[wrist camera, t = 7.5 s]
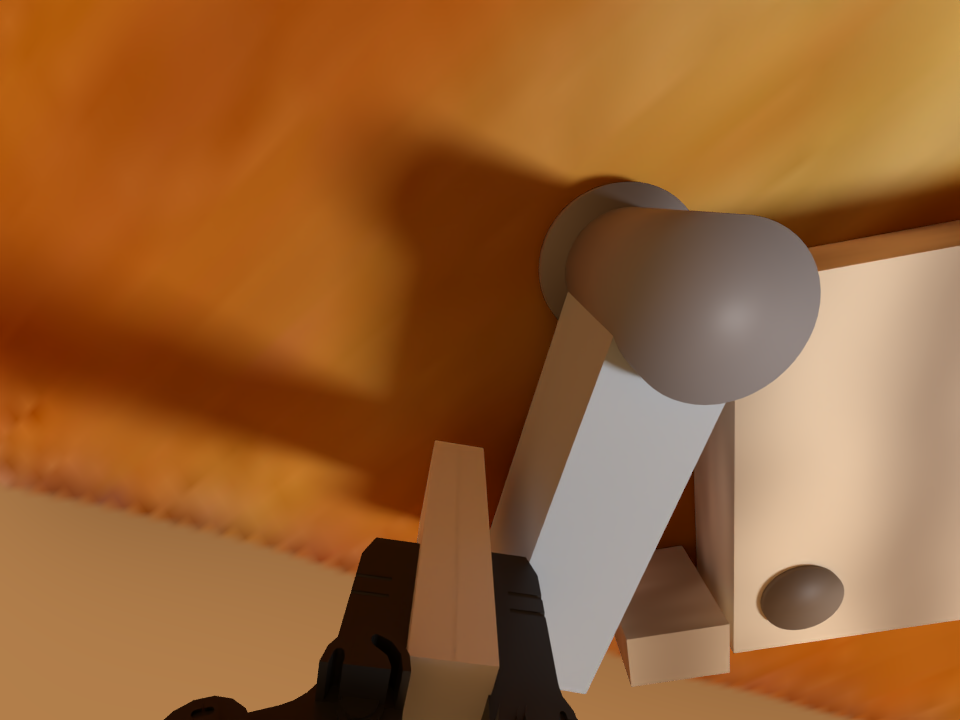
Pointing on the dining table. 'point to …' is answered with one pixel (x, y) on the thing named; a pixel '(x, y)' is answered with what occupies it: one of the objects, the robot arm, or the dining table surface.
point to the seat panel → (813, 465)
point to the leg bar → (641, 400)
